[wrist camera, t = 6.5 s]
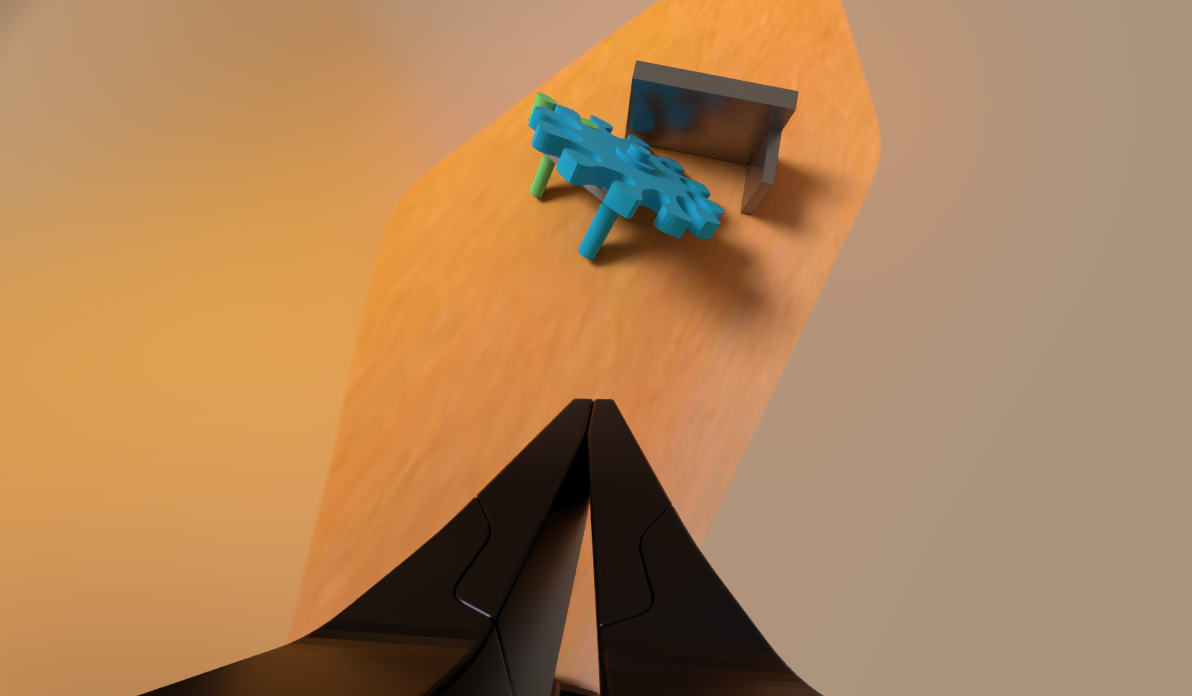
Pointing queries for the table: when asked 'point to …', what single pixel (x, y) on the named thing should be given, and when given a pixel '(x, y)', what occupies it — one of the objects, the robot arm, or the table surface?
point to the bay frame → (712, 120)
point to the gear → (617, 175)
